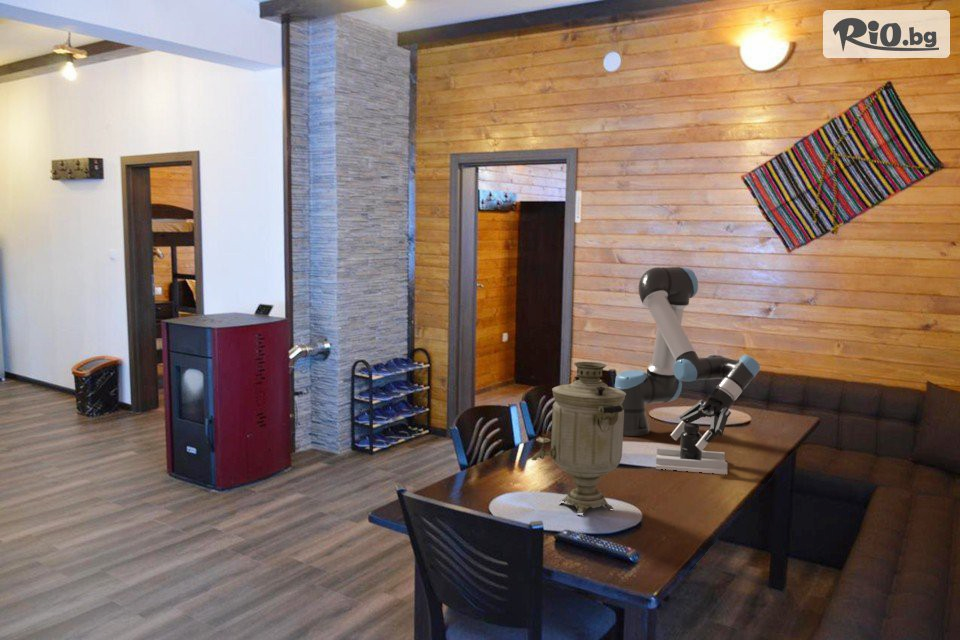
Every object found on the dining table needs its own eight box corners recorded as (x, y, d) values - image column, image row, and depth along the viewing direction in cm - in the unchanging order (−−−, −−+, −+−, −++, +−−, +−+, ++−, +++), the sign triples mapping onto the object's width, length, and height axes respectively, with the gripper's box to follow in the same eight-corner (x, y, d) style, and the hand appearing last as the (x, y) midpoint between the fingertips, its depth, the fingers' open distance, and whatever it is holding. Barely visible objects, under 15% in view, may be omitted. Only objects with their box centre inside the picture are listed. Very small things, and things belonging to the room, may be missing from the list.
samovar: (521, 489, 218) (523, 356, 214) (608, 487, 220) (611, 355, 216) (536, 528, 189) (538, 373, 185) (636, 525, 190) (640, 373, 186)
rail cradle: (656, 469, 239) (656, 459, 238) (656, 455, 254) (657, 446, 254) (727, 474, 233) (727, 464, 233) (723, 460, 249) (724, 451, 248)
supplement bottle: (678, 461, 242) (678, 426, 241) (682, 455, 248) (683, 421, 247) (699, 464, 239) (699, 428, 237) (703, 458, 245) (704, 423, 243)
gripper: (756, 409, 235) (716, 460, 232) (707, 395, 258) (669, 440, 255) (744, 394, 233) (703, 445, 229) (695, 381, 256) (657, 426, 252)
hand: (685, 443), depth 242 cm, fingers open, 13 cm apart
